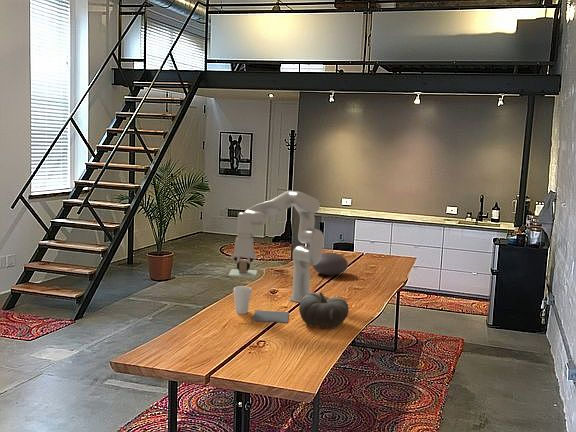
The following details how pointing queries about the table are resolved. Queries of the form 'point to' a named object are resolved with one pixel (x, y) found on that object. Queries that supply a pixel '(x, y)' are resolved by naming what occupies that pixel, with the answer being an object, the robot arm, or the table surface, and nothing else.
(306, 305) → the gourd
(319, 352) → the table surface
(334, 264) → the smooth stone
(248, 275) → the lid
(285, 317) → the mat
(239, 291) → the foam cup
